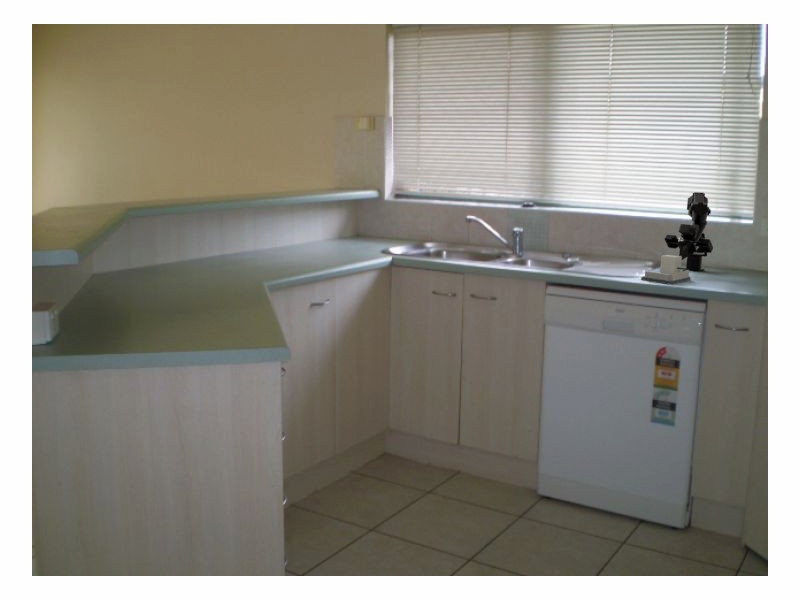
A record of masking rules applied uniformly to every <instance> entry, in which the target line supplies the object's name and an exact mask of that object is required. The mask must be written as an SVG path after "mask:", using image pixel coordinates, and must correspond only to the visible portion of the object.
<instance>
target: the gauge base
mask: <svg viewBox="0 0 800 600" xmlns="http://www.w3.org/2000/svg"><path fill="white" fill-rule="evenodd" d="M689 273H690V270H681V271H677V272H673V273H671V274H664V273H660V272H656V271H651V270H650V271H649V270H646V271H644V275H643V276H641V277H640V280H641V281H646V282H654V283H660V284H667V285H676V284H679V283H684V282H687V281H688V282H689V281H691V276H689V275H690V274H689Z"/></svg>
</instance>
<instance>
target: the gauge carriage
mask: <svg viewBox="0 0 800 600" xmlns="http://www.w3.org/2000/svg"><path fill="white" fill-rule="evenodd" d="M682 261H683V260H682V256H679V255H676V254H664V255H661V257H660V271H659V273H664V274H671V273H673V272H677V271H683V270H685V268H686V267H682Z"/></svg>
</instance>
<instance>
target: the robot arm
mask: <svg viewBox="0 0 800 600" xmlns="http://www.w3.org/2000/svg"><path fill="white" fill-rule="evenodd" d="M708 204H709V199H708V197H706V194H705V193H704V192H698V191H697V192H695V191H694V192H692V195H691V196H689V197H688V198H687V203H686V211H687V213H688V214H687V215H688V216H689V217H690V218H691V222H690V224H685V223H684V224H683V223H680V225H679V228H678V233H680V234H681V235H680V237H677V235H675V234H666V235H665V237H664V242H665V243H666V246H667V247H668V248H669V249H675V250H676V249H679V252H678V253H679V255H678V256H682V261H683V260H685V259H686V266H685V267H684V268H685V270H689V272H690V271H691V272H701V271H705V268H702V265H703V264H702V263H703V257H705V258H706V257H708V254H711V253H712V252H713V249H714V245H713V244H712V241H711V240H710V238H706V233H704V231H705V228H706V227H707V224H708V222H707V219H708V216H710V215H711V214H712V210H711V208H710V206H709V205H708Z"/></svg>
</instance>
